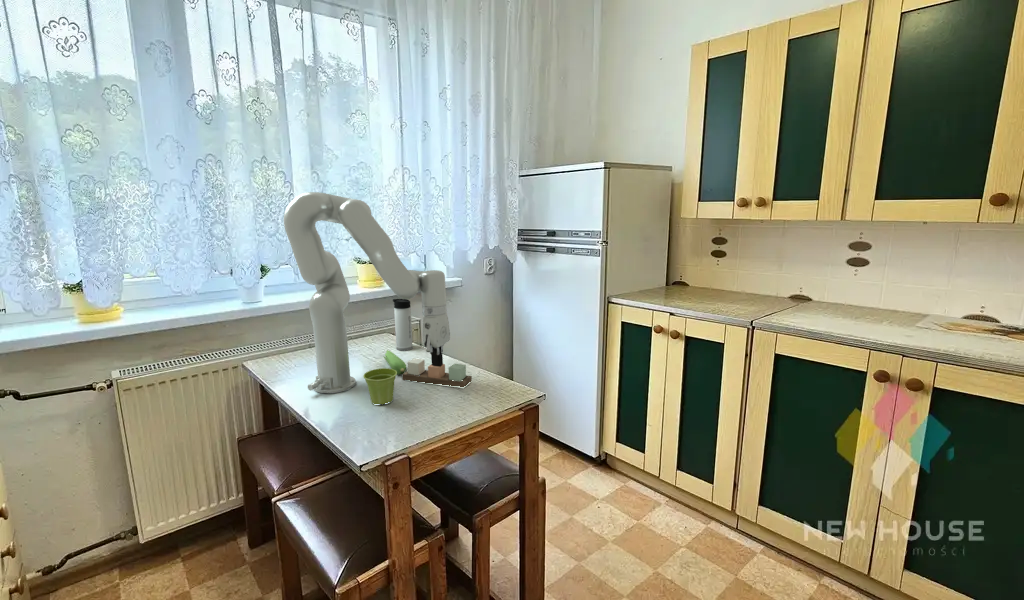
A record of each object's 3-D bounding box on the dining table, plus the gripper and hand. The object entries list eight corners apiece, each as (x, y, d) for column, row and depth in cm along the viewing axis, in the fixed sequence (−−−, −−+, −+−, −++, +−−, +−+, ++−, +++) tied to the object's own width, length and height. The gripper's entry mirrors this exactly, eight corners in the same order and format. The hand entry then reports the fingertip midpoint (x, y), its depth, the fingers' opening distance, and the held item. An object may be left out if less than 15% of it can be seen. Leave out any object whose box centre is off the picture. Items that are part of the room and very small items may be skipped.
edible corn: (392, 366, 161) (405, 360, 162) (379, 350, 178) (391, 345, 180) (397, 379, 162) (410, 374, 164) (384, 363, 180) (396, 358, 181)
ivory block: (418, 375, 158) (418, 363, 157) (407, 373, 160) (407, 362, 159) (424, 371, 162) (424, 359, 161) (414, 369, 163) (413, 358, 162)
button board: (463, 388, 152) (463, 382, 152) (402, 380, 160) (402, 374, 159) (471, 382, 158) (471, 376, 157) (412, 373, 165) (412, 368, 165)
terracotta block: (439, 379, 156) (438, 368, 155) (428, 378, 157) (427, 366, 156) (445, 375, 160) (444, 364, 159) (434, 374, 161) (433, 362, 160)
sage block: (460, 381, 153) (460, 369, 152) (449, 379, 155) (448, 367, 154) (466, 376, 157) (465, 364, 156) (454, 375, 158) (454, 363, 157)
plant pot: (382, 411, 137) (380, 382, 135) (358, 404, 142) (356, 376, 140) (405, 399, 145) (403, 371, 143) (381, 392, 150) (379, 366, 148)
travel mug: (394, 347, 193) (391, 298, 189) (410, 345, 196) (408, 296, 192) (397, 352, 188) (394, 301, 183) (414, 349, 190) (411, 299, 186)
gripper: (433, 316, 145) (436, 374, 149) (455, 305, 159) (458, 359, 163) (411, 314, 148) (415, 372, 152) (435, 304, 162) (438, 356, 166)
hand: (437, 365), depth 158 cm, fingers closed
